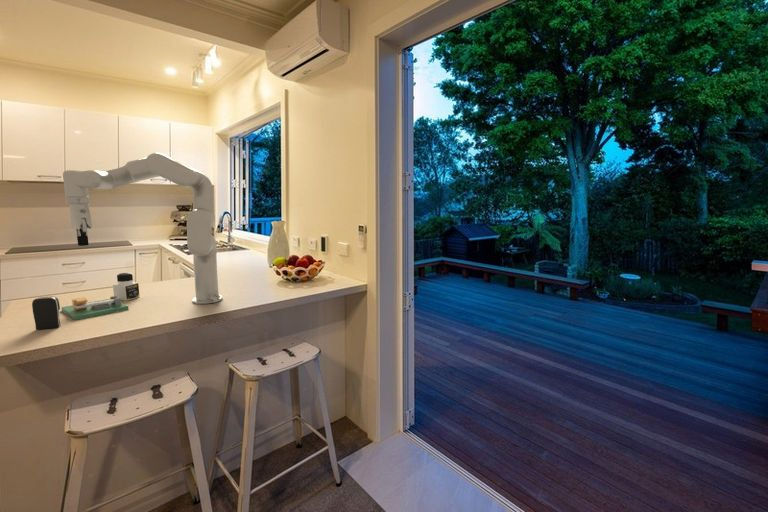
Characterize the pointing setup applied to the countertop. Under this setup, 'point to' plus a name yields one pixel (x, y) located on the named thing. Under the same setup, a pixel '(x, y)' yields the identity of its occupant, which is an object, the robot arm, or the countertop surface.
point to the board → (95, 309)
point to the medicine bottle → (126, 287)
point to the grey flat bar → (95, 303)
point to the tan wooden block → (79, 302)
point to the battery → (46, 312)
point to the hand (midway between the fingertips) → (83, 245)
